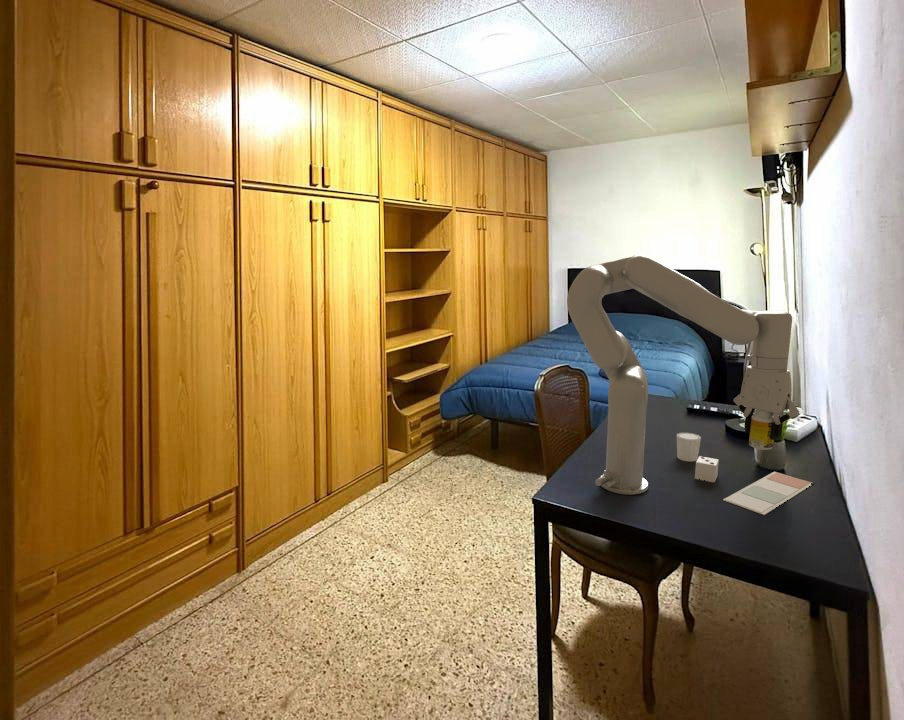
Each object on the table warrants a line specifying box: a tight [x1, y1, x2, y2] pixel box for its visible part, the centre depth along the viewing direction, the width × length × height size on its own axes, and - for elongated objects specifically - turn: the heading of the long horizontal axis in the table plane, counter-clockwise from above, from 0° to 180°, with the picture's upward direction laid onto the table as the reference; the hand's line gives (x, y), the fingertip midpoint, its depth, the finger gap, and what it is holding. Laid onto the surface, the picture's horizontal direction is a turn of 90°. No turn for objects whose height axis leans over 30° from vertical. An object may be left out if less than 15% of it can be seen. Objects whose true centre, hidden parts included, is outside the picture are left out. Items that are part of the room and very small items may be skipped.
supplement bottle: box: [748, 409, 775, 451], centre depth 134 cm, size 5×5×10 cm
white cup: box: [676, 432, 702, 462], centre depth 165 cm, size 7×7×7 cm
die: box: [694, 455, 720, 484], centre depth 152 cm, size 5×5×5 cm
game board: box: [722, 471, 812, 516], centre depth 142 cm, size 28×10×1 cm, turn 126°
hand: (762, 434), depth 134 cm, fingers closed on supplement bottle, 5 cm apart
